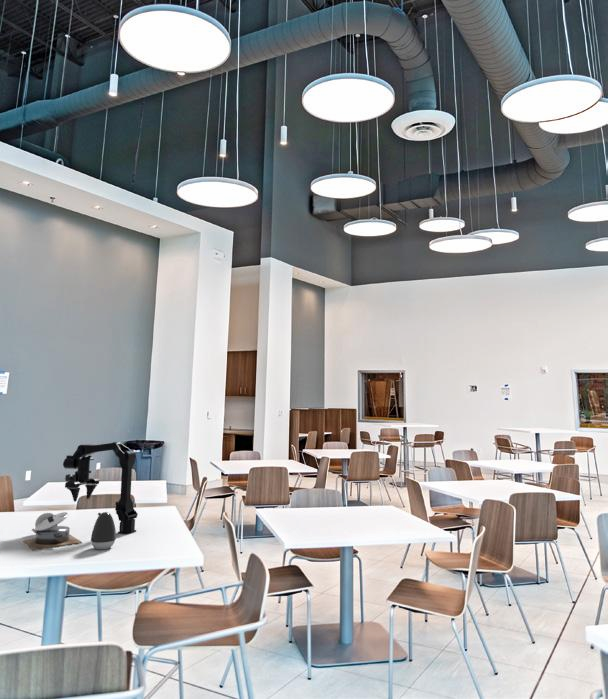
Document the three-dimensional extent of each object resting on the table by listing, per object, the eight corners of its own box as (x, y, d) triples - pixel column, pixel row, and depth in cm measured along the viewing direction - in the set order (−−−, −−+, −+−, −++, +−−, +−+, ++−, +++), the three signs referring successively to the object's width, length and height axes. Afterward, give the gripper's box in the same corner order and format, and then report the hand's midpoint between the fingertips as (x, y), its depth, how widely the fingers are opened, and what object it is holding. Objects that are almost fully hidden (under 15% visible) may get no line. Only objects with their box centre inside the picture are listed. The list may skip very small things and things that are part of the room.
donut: (33, 535, 242) (35, 514, 243) (34, 534, 245) (36, 512, 246) (56, 534, 245) (58, 512, 246) (57, 532, 248) (59, 511, 250)
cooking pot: (61, 534, 242) (62, 523, 242) (75, 543, 225) (76, 531, 226) (30, 538, 233) (31, 527, 234) (41, 548, 216) (42, 535, 217)
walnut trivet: (69, 535, 243) (69, 534, 243) (81, 543, 227) (82, 542, 228) (22, 541, 230) (22, 540, 230) (32, 550, 215) (33, 548, 215)
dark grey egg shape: (107, 544, 227) (109, 509, 229) (119, 548, 220) (122, 512, 223) (85, 548, 219) (88, 512, 221) (97, 552, 213) (100, 515, 215)
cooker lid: (63, 512, 239) (61, 506, 239) (71, 516, 229) (69, 510, 228) (30, 529, 230) (27, 524, 229) (37, 535, 219) (34, 529, 219)
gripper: (83, 467, 272) (81, 496, 270) (57, 470, 254) (55, 502, 252) (100, 467, 269) (99, 497, 266) (75, 471, 251) (73, 503, 249)
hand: (81, 500), depth 259 cm, fingers open, 9 cm apart
